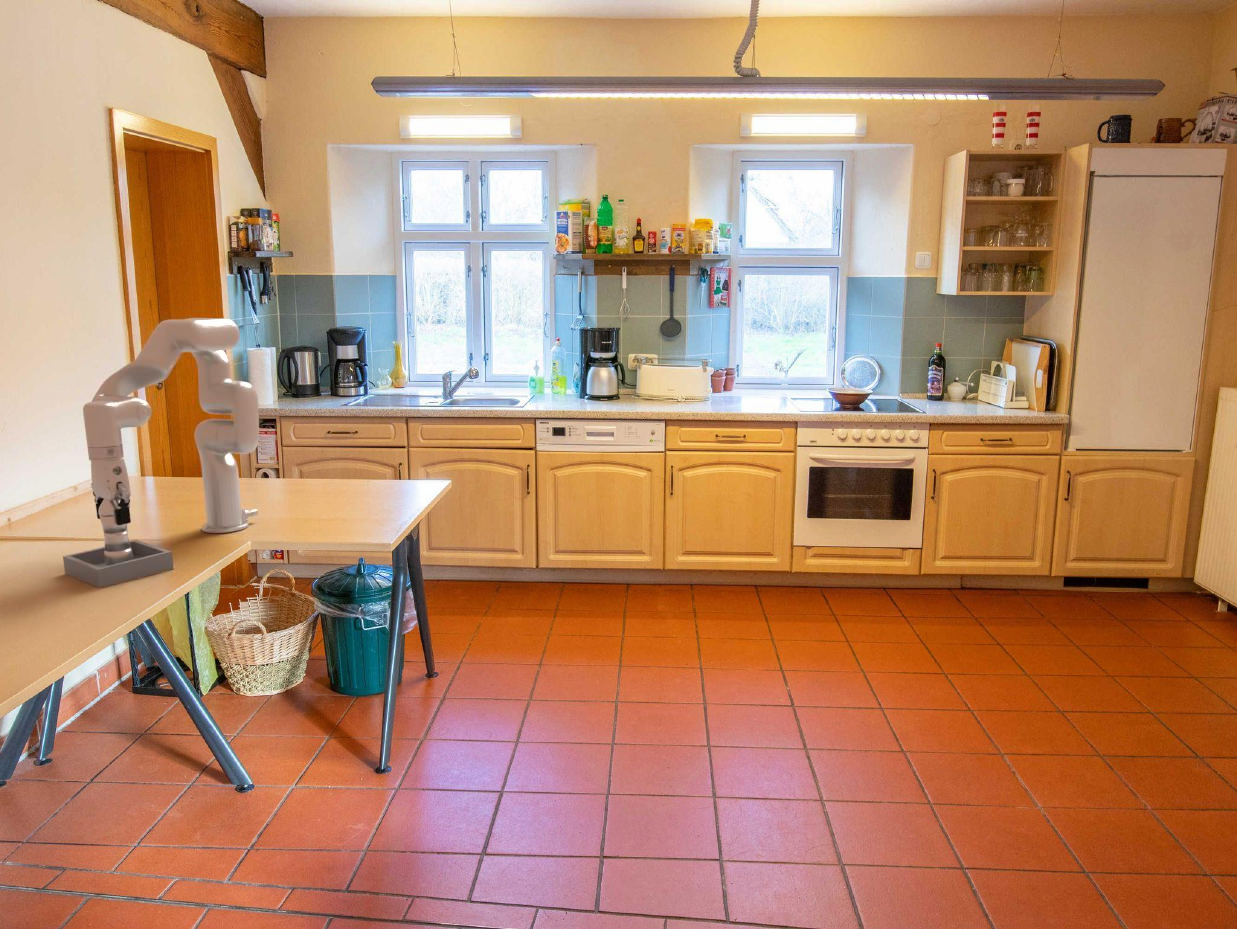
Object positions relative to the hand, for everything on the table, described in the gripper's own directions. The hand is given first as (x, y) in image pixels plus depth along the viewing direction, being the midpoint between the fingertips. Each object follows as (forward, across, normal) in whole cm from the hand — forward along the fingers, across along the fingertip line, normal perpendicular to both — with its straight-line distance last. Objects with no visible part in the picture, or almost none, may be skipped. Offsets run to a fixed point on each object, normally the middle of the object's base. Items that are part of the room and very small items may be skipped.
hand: (114, 520), depth 239 cm
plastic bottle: (+12, 0, 0) cm, 12 cm away
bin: (+13, 0, 0) cm, 13 cm away
